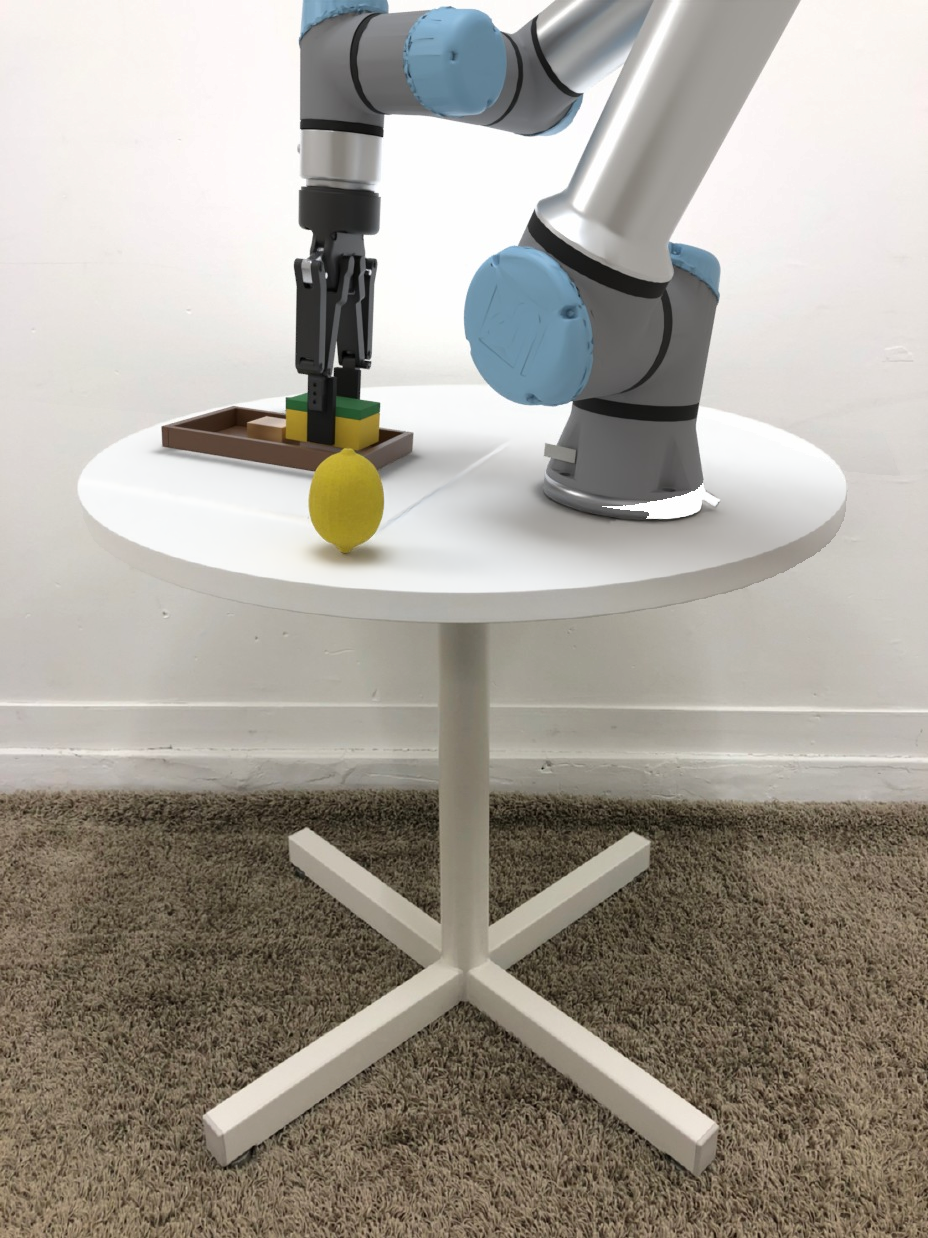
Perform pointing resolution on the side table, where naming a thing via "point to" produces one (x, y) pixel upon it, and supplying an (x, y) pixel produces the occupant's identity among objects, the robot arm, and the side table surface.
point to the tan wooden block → (269, 430)
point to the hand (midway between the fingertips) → (333, 437)
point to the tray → (229, 439)
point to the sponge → (338, 421)
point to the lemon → (346, 500)
